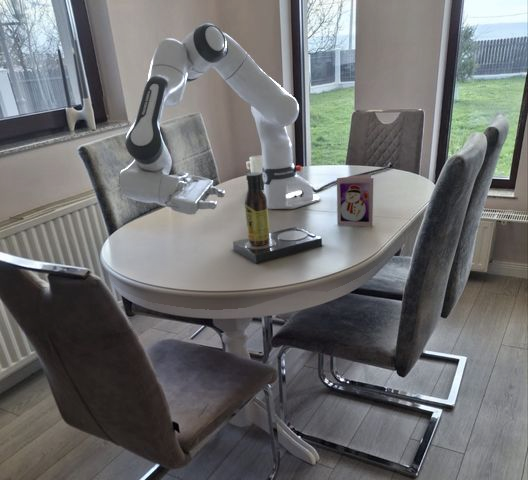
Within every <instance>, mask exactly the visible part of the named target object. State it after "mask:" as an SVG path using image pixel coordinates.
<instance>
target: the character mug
mask: <svg viewBox="0 0 528 480" xmlns="http://www.w3.org/2000/svg"><path fill="white" fill-rule="evenodd" d="M245 163H246V169H247V170H250V173H252V172H259V173H261V187H262V189H264V183H263V174H262V168H263V159H262V154H261V155H252V156H250V157H249V160H248V161H246V162H245Z"/></svg>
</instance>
